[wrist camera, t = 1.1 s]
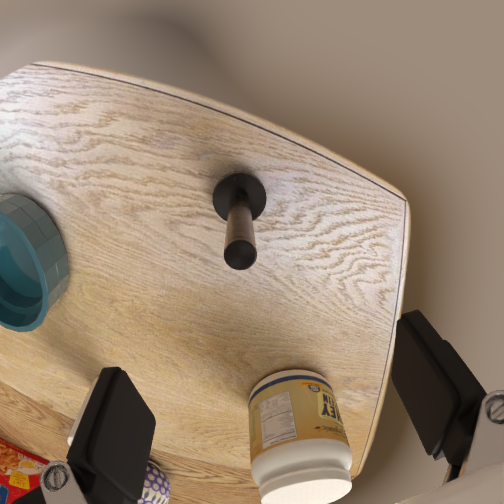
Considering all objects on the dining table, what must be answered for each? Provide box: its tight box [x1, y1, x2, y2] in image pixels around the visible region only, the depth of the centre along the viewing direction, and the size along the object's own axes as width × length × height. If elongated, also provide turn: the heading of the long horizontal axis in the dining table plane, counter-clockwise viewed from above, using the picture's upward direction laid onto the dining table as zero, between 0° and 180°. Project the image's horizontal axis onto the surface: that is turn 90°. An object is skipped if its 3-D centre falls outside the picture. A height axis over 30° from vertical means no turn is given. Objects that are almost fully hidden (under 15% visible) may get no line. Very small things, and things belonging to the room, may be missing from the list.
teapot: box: [137, 460, 170, 504], centre depth 44 cm, size 25×15×15 cm, turn 167°
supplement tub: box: [248, 370, 352, 504], centre depth 34 cm, size 12×12×17 cm
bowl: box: [0, 194, 69, 332], centre depth 28 cm, size 16×16×6 cm
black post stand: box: [213, 171, 266, 270], centre depth 23 cm, size 5×5×14 cm
